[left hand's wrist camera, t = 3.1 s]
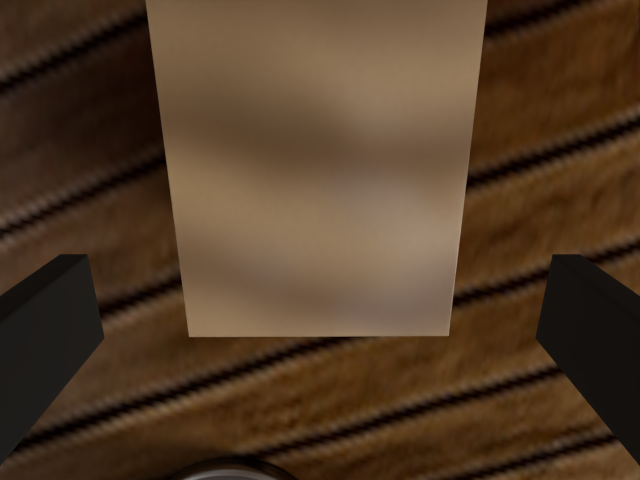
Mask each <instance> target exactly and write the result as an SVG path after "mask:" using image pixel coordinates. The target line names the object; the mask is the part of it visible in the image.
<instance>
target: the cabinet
mask: <svg viewBox="0 0 640 480" xmlns="http://www.w3.org/2000/svg"><path fill="white" fill-rule="evenodd" d="M146 8H147V16H148V23H149V31H150V39H151V46H152V54H153V62H154V70H155V77H156V85H157V93H158V100H159V108H160V116H161V124H162V131H163V139H164V147H165V154H166V162H167V170H168V178H169V185H170V193H171V201H172V208H173V216H174V224H175V232H176V239H177V247H178V255H179V262H180V270H181V278H182V286H183V293H184V301H185V309H186V316H187V324H188V332H189V337H297V336H448V335H449V327H450V318H451V310H452V301H453V292H454V284H455V275H456V267H457V258H458V249H459V241H460V232H461V224H462V215H463V206H464V198H465V189H466V181H467V172H468V163H469V155H470V146H471V138H472V129H473V120H474V112H475V103H476V95H477V86H478V77H479V69H480V60H481V52H482V43H483V34H484V26H485V17H486V9H487V0H146Z"/></svg>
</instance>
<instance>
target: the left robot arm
mask: <svg viewBox="0 0 640 480" xmlns="http://www.w3.org/2000/svg"><path fill="white" fill-rule="evenodd" d="M103 339H104V333H103V328H102V324H101V319H100V314H99V309H98V304H97V299H96V294H95V289H94V285H93V280H92V275H91V270H90V265H89V260H88V255H87V254H60V255H59V256H57V257H56V258H54V259H53V260H51V261H50V262H49V263H47V264H46V265H44V266H43V267H41V268H40V269H39V270H37V271H36V272H34V273H33V274H31V275H30V276H28V277H27V278H26V279H24V280H23V281H21V282H20V283H18V284H17V285H16V286H14V287H13V288H11V289H10V290H8V291H7V292H5V293H4V294H3V295H1V296H0V465H1V464H2V463H3V462H4V461H5V459H6V458H7V457H8V456H9V454H10V453H11V452H12V451H13V450H14V448H15V447H16V446H17V445H18V443H19V442H20V441H21V440H22V438H23V437H24V436H25V435H26V434H27V432H28V431H29V430H30V429H31V427H32V426H33V425H34V424H35V423H36V421H37V420H38V419H39V418H40V416H41V415H42V414H43V413H44V412H45V410H46V409H47V408H48V407H49V405H50V404H51V403H52V402H53V401H54V399H55V398H56V397H57V396H58V394H59V393H60V392H61V391H62V389H63V388H64V387H65V386H66V385H67V383H68V382H69V381H70V380H71V378H72V377H73V376H74V375H75V374H76V372H77V371H78V370H79V369H80V367H81V366H82V365H83V364H84V363H85V361H86V360H87V359H88V358H89V356H90V355H91V354H92V353H93V351H94V350H95V349H96V348H97V347H98V345H99V344H100V343H101V342H102V340H103ZM536 339H537V340H538V342H539V343H540V344H541V345H542V347H543V348H544V349H545V350H546V351H547V353H548V354H549V355H550V356H551V358H552V359H553V360H554V361H555V363H556V364H557V365H558V366H559V367H560V369H561V370H562V371H563V372H564V374H565V375H566V376H567V377H568V378H569V380H570V381H571V382H572V383H573V385H574V386H575V387H576V388H577V389H578V391H579V392H580V393H581V394H582V396H583V397H584V398H585V399H586V401H587V402H588V403H589V404H590V405H591V407H592V408H593V409H594V410H595V412H596V413H597V414H598V415H599V416H600V418H601V419H602V420H603V421H604V423H605V424H606V425H607V426H608V427H609V429H610V430H611V431H612V432H613V434H614V435H615V436H616V437H617V438H618V440H619V441H620V442H621V443H622V445H623V446H624V447H625V448H626V450H627V451H628V452H629V453H630V454H631V456H632V457H633V458H634V459H635V461H636V462H637V463H638V464H639V465H640V296H639V295H637V294H636V293H635V292H633V291H632V290H630V289H629V288H627V287H626V286H624V285H623V284H622V283H620V282H619V281H617V280H616V279H614V278H613V277H612V276H610V275H609V274H607V273H606V272H604V271H603V270H601V269H600V268H599V267H597V266H596V265H594V264H593V263H591V262H590V261H589V260H587V259H586V258H584V257H583V256H581V255H580V254H553V255H552V260H551V265H550V270H549V275H548V280H547V285H546V289H545V294H544V299H543V304H542V309H541V314H540V319H539V324H538V328H537V333H536ZM169 480H296V479H295V478H293V477H292V476H290V475H289V474H287V473H285V472H283V471H282V470H280V469H277V468H275V467H273V466H270V465H267V464H264V463H260V462H256V461H251V460H245V459H217V460H210V461H205V462H202V463H198V464H195V465H193V466H190V467H188V468H186V469H184V470H182V471H180V472H179V473H177V474H175V475H174V476H173V477H172V478H170V479H169Z"/></svg>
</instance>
